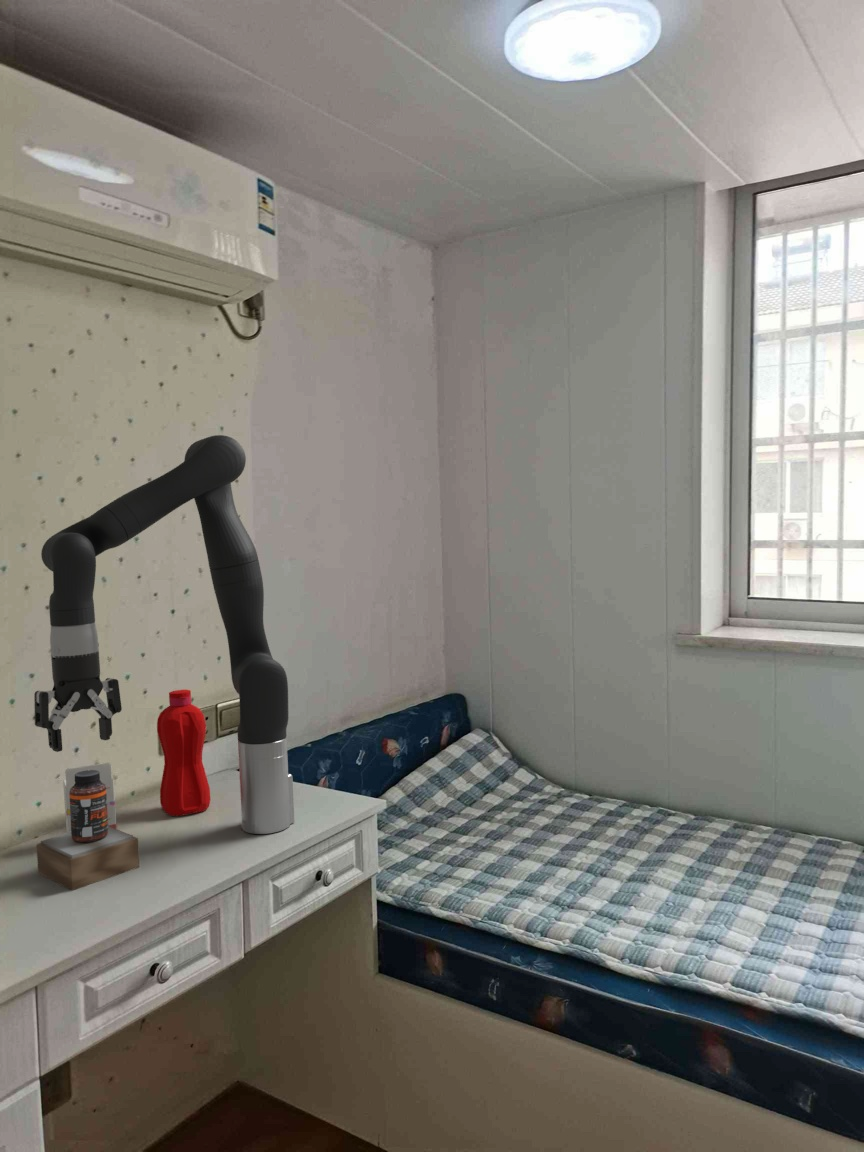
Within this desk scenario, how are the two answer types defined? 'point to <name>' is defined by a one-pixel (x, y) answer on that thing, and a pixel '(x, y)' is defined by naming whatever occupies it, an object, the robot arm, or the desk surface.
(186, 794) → the water bottle
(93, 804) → the supplement bottle
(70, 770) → the ink cartridge box
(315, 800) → the desk surface
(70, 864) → the wooden rimmed tray
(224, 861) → the desk surface
